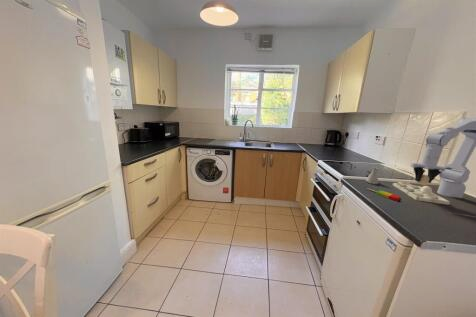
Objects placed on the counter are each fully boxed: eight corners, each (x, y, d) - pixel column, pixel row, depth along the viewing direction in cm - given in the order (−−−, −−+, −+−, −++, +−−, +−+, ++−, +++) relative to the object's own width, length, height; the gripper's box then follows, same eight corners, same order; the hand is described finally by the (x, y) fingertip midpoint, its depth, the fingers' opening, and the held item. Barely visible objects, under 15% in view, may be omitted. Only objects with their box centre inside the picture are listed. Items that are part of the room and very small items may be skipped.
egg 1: (423, 182, 101) (426, 174, 100) (429, 185, 97) (433, 176, 95) (414, 181, 102) (417, 172, 100) (419, 184, 98) (423, 175, 96)
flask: (381, 185, 115) (385, 170, 113) (368, 183, 117) (372, 168, 114) (375, 181, 122) (379, 167, 120) (363, 180, 123) (367, 165, 121)
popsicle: (396, 202, 93) (397, 198, 93) (364, 190, 105) (365, 187, 105) (400, 200, 96) (401, 196, 96) (368, 189, 108) (369, 186, 108)
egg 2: (426, 193, 106) (429, 185, 104) (432, 197, 101) (435, 188, 100) (417, 192, 106) (420, 184, 105) (422, 195, 102) (426, 187, 101)
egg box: (418, 189, 113) (419, 186, 113) (448, 205, 93) (450, 201, 93) (391, 186, 116) (392, 182, 115) (416, 201, 96) (417, 197, 95)
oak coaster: (408, 183, 123) (408, 182, 123) (416, 188, 116) (417, 187, 115) (394, 181, 125) (395, 180, 124) (402, 186, 117) (402, 185, 117)
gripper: (441, 157, 98) (432, 181, 101) (410, 153, 101) (402, 177, 104) (453, 160, 91) (443, 185, 95) (419, 156, 94) (411, 181, 97)
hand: (422, 181), depth 99 cm, fingers closed on egg 1, 4 cm apart
